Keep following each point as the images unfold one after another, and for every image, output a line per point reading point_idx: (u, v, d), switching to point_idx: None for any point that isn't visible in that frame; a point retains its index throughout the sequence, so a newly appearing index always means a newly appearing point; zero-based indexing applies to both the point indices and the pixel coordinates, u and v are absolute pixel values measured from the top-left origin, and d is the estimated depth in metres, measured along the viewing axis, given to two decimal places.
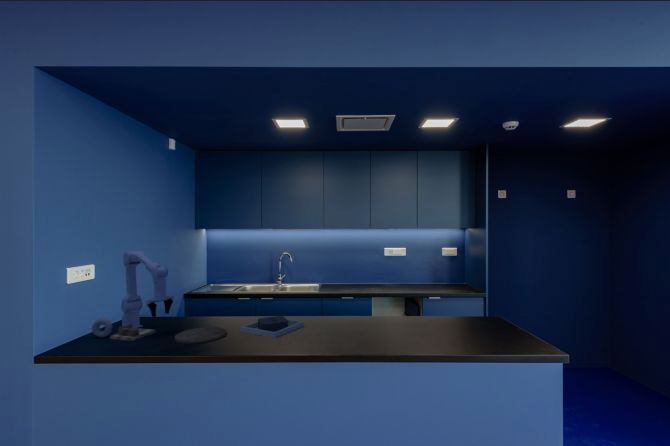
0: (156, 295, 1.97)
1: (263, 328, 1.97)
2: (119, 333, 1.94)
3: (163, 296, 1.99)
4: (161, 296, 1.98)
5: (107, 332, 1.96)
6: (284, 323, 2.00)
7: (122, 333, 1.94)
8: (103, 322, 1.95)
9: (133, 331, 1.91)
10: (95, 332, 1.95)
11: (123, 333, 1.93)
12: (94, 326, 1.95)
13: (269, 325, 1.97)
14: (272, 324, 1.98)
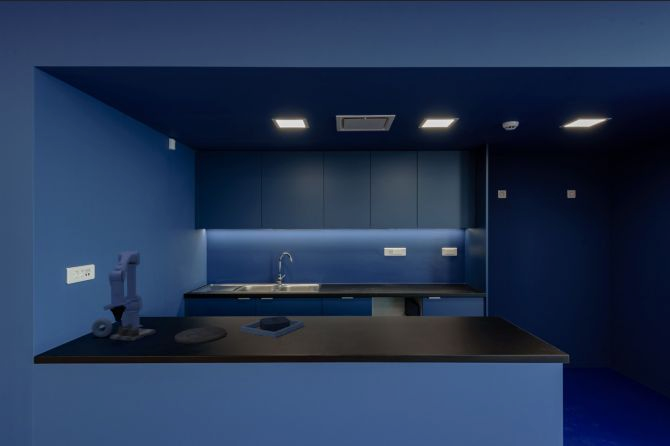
0: (113, 300, 1.85)
1: (265, 328, 1.96)
2: (119, 333, 1.94)
3: (122, 301, 1.87)
4: (120, 301, 1.86)
5: (107, 332, 1.96)
6: (286, 323, 2.00)
7: (122, 333, 1.94)
8: (103, 322, 1.95)
9: (133, 331, 1.91)
10: (95, 332, 1.95)
11: (123, 333, 1.93)
12: (94, 326, 1.95)
13: (271, 325, 1.96)
14: (274, 324, 1.97)
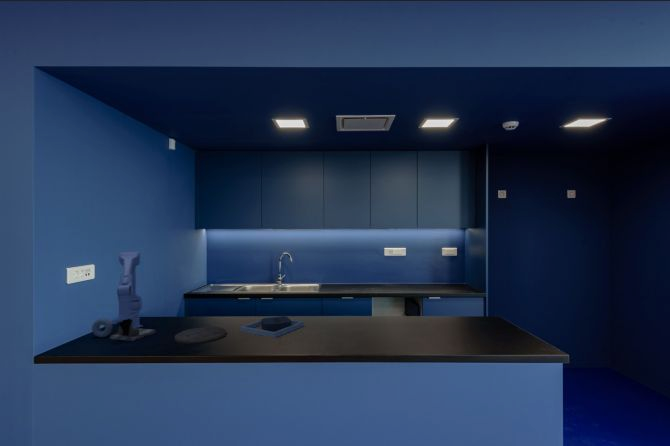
0: (121, 314, 1.89)
1: (266, 328, 1.96)
2: (119, 333, 1.94)
3: (129, 315, 1.91)
4: (127, 315, 1.90)
5: (107, 332, 1.96)
6: (287, 323, 1.99)
7: (122, 333, 1.94)
8: (103, 322, 1.95)
9: (133, 331, 1.91)
10: (95, 332, 1.95)
11: None
12: (94, 326, 1.95)
13: (272, 325, 1.96)
14: (275, 324, 1.97)
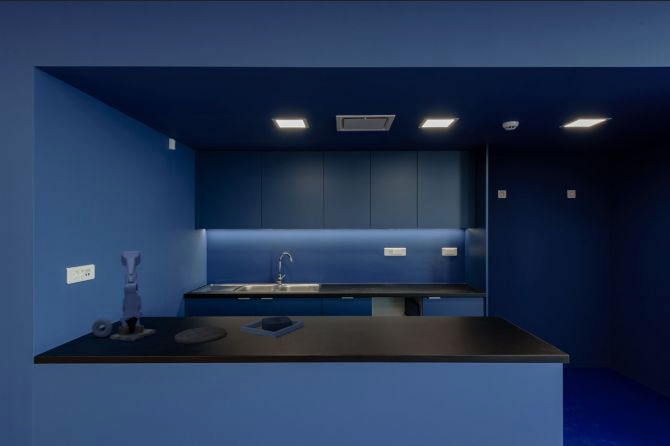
0: (128, 312, 1.93)
1: (267, 328, 1.96)
2: (122, 333, 1.95)
3: (136, 312, 1.95)
4: (134, 312, 1.94)
5: (107, 332, 1.96)
6: (288, 323, 2.00)
7: (126, 332, 1.95)
8: (103, 322, 1.95)
9: (141, 327, 1.98)
10: (95, 332, 1.95)
11: (127, 332, 1.96)
12: (94, 326, 1.95)
13: (273, 325, 1.97)
14: (276, 324, 1.97)
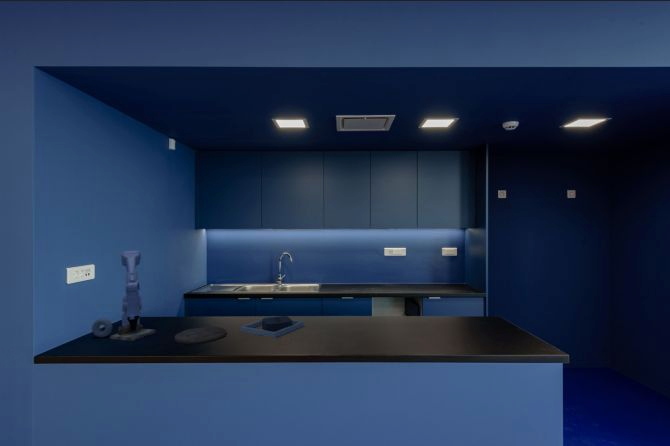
0: (133, 310, 1.97)
1: (267, 328, 1.97)
2: (123, 332, 1.96)
3: (139, 310, 2.00)
4: (138, 310, 1.99)
5: (107, 332, 1.96)
6: (288, 323, 2.00)
7: (127, 331, 1.97)
8: (103, 322, 1.95)
9: (140, 325, 2.04)
10: (95, 332, 1.95)
11: (128, 330, 1.98)
12: (94, 326, 1.95)
13: (273, 325, 1.97)
14: (276, 324, 1.97)
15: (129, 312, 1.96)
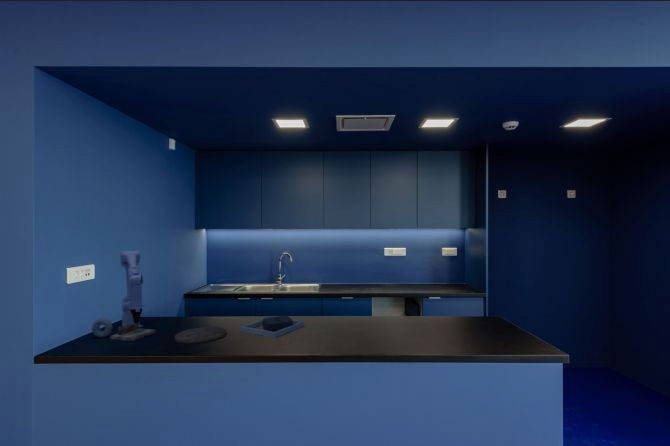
0: (138, 303, 1.98)
1: (268, 328, 1.97)
2: (124, 332, 1.96)
3: (141, 303, 2.01)
4: (141, 303, 2.00)
5: (107, 332, 1.96)
6: (289, 323, 2.00)
7: (127, 331, 1.98)
8: (103, 322, 1.95)
9: (138, 324, 2.05)
10: (95, 332, 1.95)
11: (128, 330, 1.99)
12: (94, 326, 1.95)
13: (274, 325, 1.97)
14: (277, 324, 1.98)
15: (133, 305, 1.97)
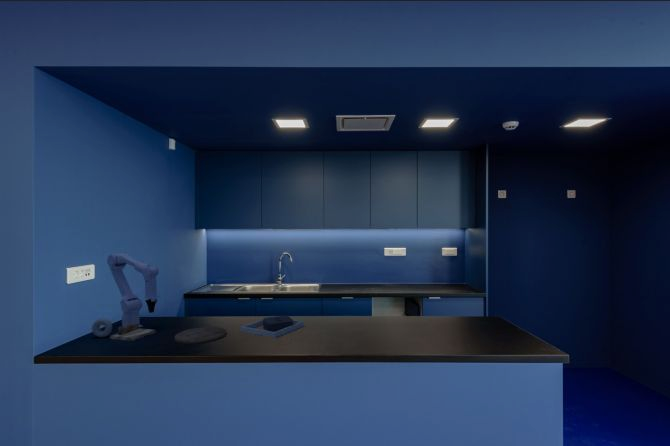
0: (153, 293, 2.08)
1: (268, 328, 1.97)
2: (124, 332, 1.96)
3: (156, 293, 2.12)
4: (156, 293, 2.11)
5: (107, 332, 1.96)
6: (289, 323, 2.01)
7: (127, 331, 1.98)
8: (103, 322, 1.95)
9: (138, 324, 2.05)
10: (95, 332, 1.95)
11: (128, 330, 1.99)
12: (94, 326, 1.95)
13: (274, 325, 1.97)
14: (277, 324, 1.98)
15: (148, 295, 2.07)
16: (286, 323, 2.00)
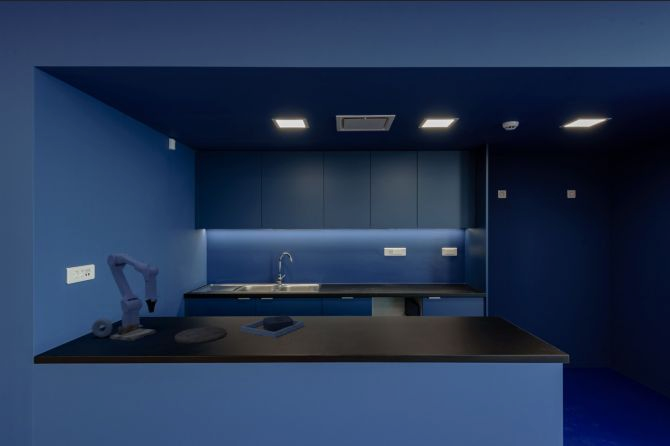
0: (153, 293, 2.08)
1: (268, 327, 1.97)
2: (124, 332, 1.96)
3: (156, 293, 2.12)
4: (156, 293, 2.11)
5: (107, 332, 1.96)
6: (289, 323, 2.01)
7: (127, 331, 1.98)
8: (103, 322, 1.95)
9: (138, 324, 2.05)
10: (95, 332, 1.95)
11: (128, 330, 1.99)
12: (94, 326, 1.95)
13: (274, 325, 1.98)
14: (277, 324, 1.98)
15: (148, 295, 2.07)
16: (286, 323, 2.00)
